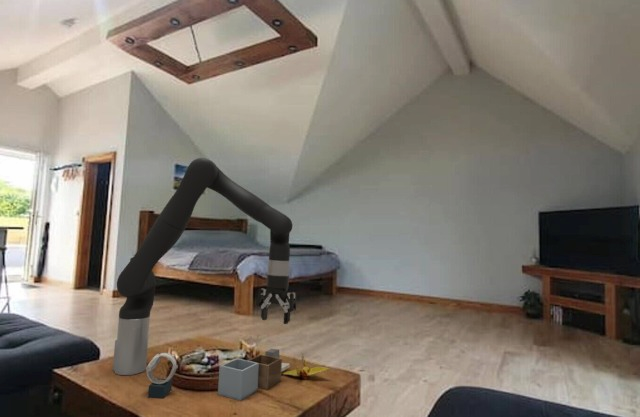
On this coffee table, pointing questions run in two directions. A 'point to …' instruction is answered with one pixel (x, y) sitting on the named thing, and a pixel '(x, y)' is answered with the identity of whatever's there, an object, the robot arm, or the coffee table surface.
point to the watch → (160, 386)
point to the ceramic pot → (238, 379)
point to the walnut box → (268, 370)
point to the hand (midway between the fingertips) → (275, 321)
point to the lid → (276, 354)
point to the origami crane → (305, 370)
